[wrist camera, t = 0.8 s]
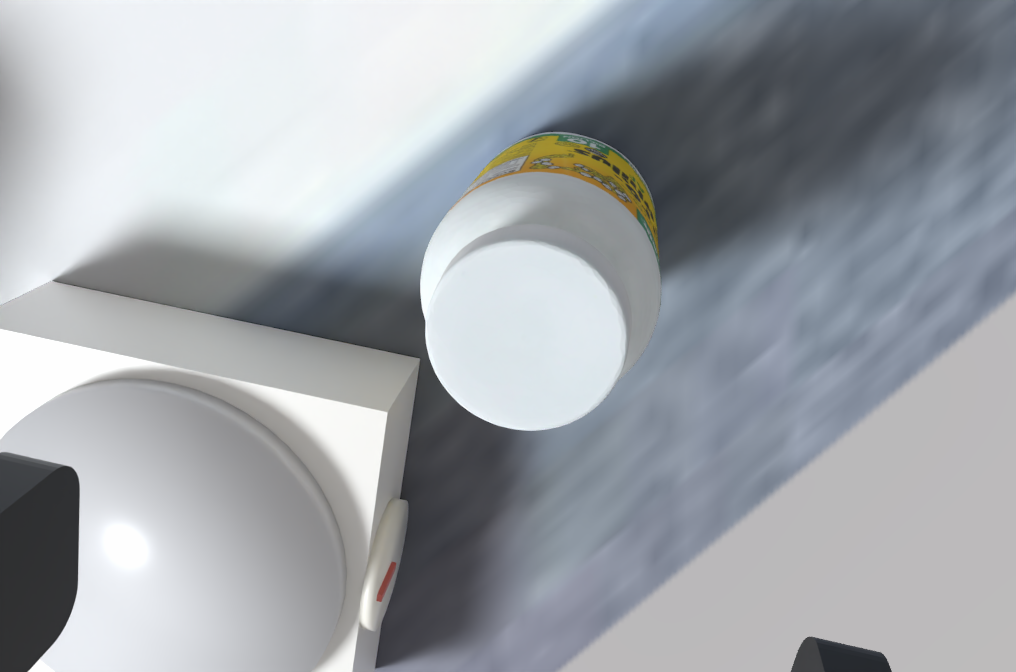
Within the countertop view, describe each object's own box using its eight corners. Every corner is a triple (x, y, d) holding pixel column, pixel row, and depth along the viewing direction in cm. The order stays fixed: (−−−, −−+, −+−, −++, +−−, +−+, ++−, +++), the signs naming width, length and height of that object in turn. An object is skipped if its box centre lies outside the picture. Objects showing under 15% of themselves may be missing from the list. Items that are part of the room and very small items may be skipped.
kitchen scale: (50, 280, 30) (-53, 331, 26) (437, 362, 29) (400, 429, 25) (52, 594, 34) (-37, 684, 30) (390, 673, 34) (350, 778, 29)
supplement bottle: (433, 200, 28) (332, 301, 19) (585, 88, 26) (554, 140, 17) (542, 346, 29) (495, 506, 20) (695, 247, 27) (719, 374, 18)
